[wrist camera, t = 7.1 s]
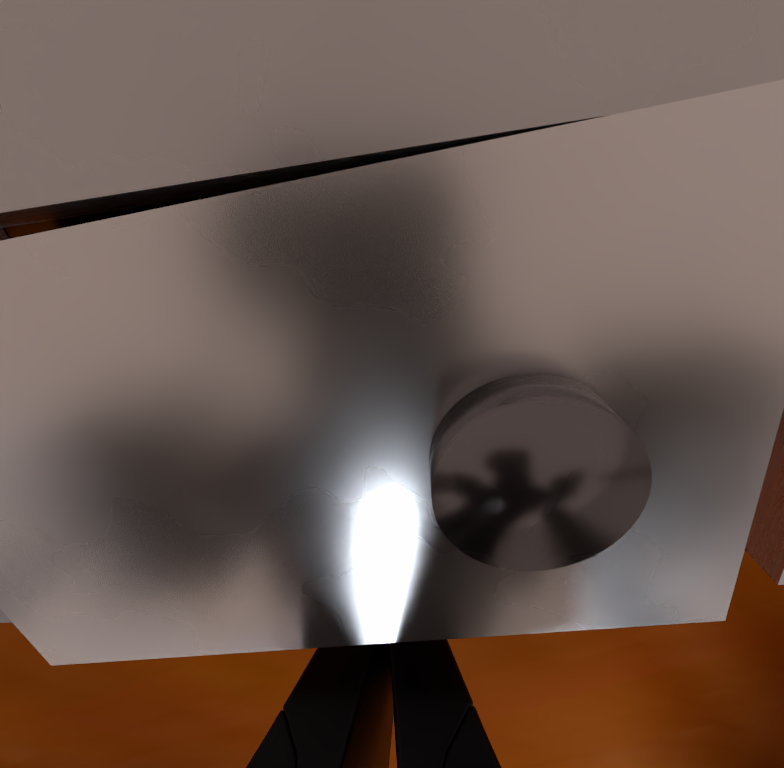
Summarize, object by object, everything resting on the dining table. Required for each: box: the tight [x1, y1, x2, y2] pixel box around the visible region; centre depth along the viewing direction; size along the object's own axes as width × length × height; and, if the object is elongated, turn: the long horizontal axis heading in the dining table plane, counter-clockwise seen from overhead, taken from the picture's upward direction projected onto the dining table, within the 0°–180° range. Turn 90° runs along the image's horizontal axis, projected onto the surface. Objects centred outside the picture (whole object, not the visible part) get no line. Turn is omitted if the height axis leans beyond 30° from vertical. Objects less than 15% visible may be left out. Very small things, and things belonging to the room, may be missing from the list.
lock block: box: [0, 79, 784, 665], centre depth 6 cm, size 10×6×5 cm, turn 100°
